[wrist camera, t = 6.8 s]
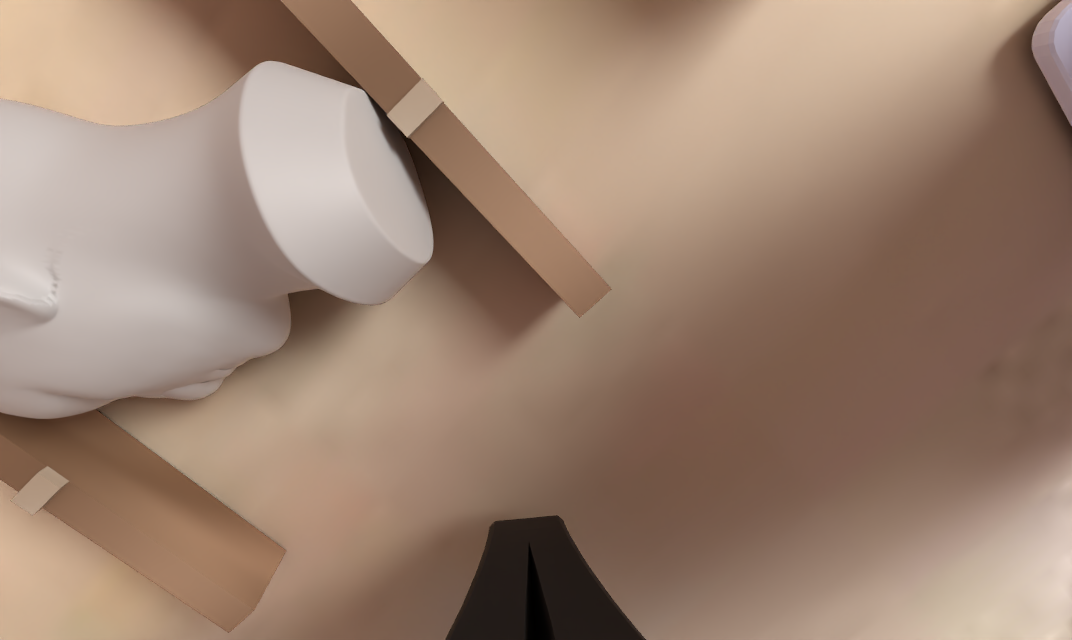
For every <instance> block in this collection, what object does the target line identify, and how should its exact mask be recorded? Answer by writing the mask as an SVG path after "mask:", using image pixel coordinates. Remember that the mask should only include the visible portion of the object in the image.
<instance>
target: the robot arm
mask: <svg viewBox="0 0 1072 640" xmlns="http://www.w3.org/2000/svg"><path fill="white" fill-rule="evenodd" d="M1031 48H1032V51H1033V55H1034V58H1035V60H1036V62H1037V64H1038V66H1039V67H1040V69H1041V71H1042V73H1043V75H1044V77H1045V79H1046V80H1047V82H1048V84H1049V86H1050V88H1051V90H1052V91H1053V93H1054V95H1055V97H1056V99H1057V101H1058V102H1059V104H1060V106H1061V108H1062V110H1063V112H1064V113H1065V115H1066V117H1067V119H1068V121H1069V123H1070V124H1071V126H1072V0H1062V1H1061V2H1059V3H1058V4H1057V5H1056V6H1055V7H1054V8H1052V9H1051V10H1050V11H1049V12H1048V13H1047V14H1046V15H1045V16H1044V17H1043V18H1042V19H1041V21H1040V22H1039V23H1038V24H1037V27H1036V29H1035V31H1034V34H1033V36H1032V47H1031ZM445 640H646V639H645V638H644V637H643V636H642V634H641V633H640V632H639V631H638V630H637V629H636V628H635V626H634V625H633V624H632V623H631V621H630V620H629V619H628V618H627V617H626V615H625V614H624V613H623V612H622V611H621V609H620V608H619V607H618V605H617V604H616V603H615V602H614V600H613V599H612V598H611V596H610V595H609V594H608V592H607V591H606V590H605V588H604V587H603V585H602V584H601V583H600V581H599V580H598V578H597V577H596V576H595V574H594V573H593V571H592V570H591V568H590V567H589V565H588V564H587V562H586V561H585V559H584V558H583V556H582V555H581V553H580V551H579V550H578V548H577V546H576V545H575V543H574V541H573V540H572V538H571V536H570V534H569V532H568V530H567V528H566V526H565V524H564V521H563V520H562V519H561V518H560V517H559V516H557V515H556V516H546V517H536V518H525V519H515V520H505V521H495V522H494V523H493V524H492V525H491V526H490V528H489V534H488V538H487V542H486V546H485V549H484V552H483V555H482V558H481V561H480V564H479V567H478V569H477V572H476V575H475V577H474V579H473V582H472V584H471V586H470V589H469V591H468V594H467V596H466V598H465V601H464V603H463V605H462V607H461V609H460V611H459V613H458V615H457V617H456V619H455V621H454V623H453V625H452V627H451V629H450V631H449V633H448V635H447V637H446V639H445Z"/></svg>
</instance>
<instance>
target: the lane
mask: <svg viewBox="0 0 1072 640" xmlns="http://www.w3.org/2000/svg"><path fill="white" fill-rule="evenodd" d="M281 2H282V3H283V4H284V5H285V6H286V7H287V8H288V9H289V10H290V11H291V12H292V13H293V14H294V15H295V16H296V17H297V19H298V20H299V21H300V22H301V23H302V24H303V25H304V26H305V27H306V28H307V29H308V30H309V31H310V32H311V33H312V34H313V36H314V37H315V38H316V39H317V40H318V41H319V42H320V43H321V44H322V45H323V46H324V47H325V48H326V49H327V50H328V51H329V52H330V54H331V55H332V56H333V57H334V58H335V59H336V60H337V61H338V62H339V63H340V64H341V65H342V66H343V67H344V68H345V69H346V71H347V72H348V73H349V74H350V75H351V76H352V77H353V78H354V79H355V80H356V81H357V82H358V83H359V84H360V85H361V86H362V87H363V89H364V90H365V91H366V92H367V93H368V94H369V95H370V96H371V97H372V98H373V99H374V100H375V101H376V102H377V103H378V104H379V106H380V107H381V108H382V109H383V110H384V111H385V112H386V113H387V116H388V118H389V119H390V120H391V121H392V122H393V123H394V124H395V125H396V126H397V127H398V128H399V129H400V130H401V131H402V132H403V133H404V134H405V136H406V137H408V138H411V139H412V141H413V142H414V143H415V144H416V145H417V146H418V147H419V148H420V149H421V150H422V151H423V152H424V153H425V154H426V155H427V156H428V158H429V159H430V160H431V161H432V162H433V163H434V164H435V165H436V166H437V167H438V168H439V169H440V170H441V171H442V172H443V173H444V175H445V176H446V177H447V178H448V179H449V180H450V181H451V182H452V183H453V184H454V185H455V186H456V187H457V188H458V189H459V190H460V191H461V193H462V194H463V195H464V196H465V197H466V198H467V199H468V200H469V201H470V202H471V203H472V204H473V205H474V206H475V207H476V208H477V210H478V211H479V212H480V213H481V214H482V215H483V216H484V217H485V218H486V219H487V220H488V221H489V222H490V223H491V224H492V225H493V226H494V228H495V229H496V230H497V231H498V232H499V233H500V234H501V235H502V236H503V237H504V238H505V239H506V240H507V241H508V242H509V243H510V245H511V246H512V247H513V248H514V249H515V250H516V251H517V252H518V253H519V254H520V255H521V256H522V257H523V258H524V259H525V260H526V262H527V263H528V264H529V265H530V266H531V267H532V268H533V269H534V270H535V271H536V272H537V273H538V274H539V275H540V276H541V277H542V278H543V280H544V281H545V282H546V283H547V284H548V285H549V286H550V287H551V288H552V289H553V290H554V291H555V292H556V293H557V294H558V295H559V297H560V298H561V299H562V300H563V301H564V302H565V303H566V304H567V305H568V306H569V307H570V308H571V309H572V310H573V311H574V312H575V314H576V315H577V316H578V317H579V318H580V317H581V316H582V315H583V314H584V313H586V312H587V311H588V310H589V309H590V308H591V307H592V306H593V305H594V304H596V303H597V302H598V301H599V300H600V299H601V298H602V297H603V296H605V295H606V294H607V293H608V292H609V291H610V290H611V288H610V287H609V286H608V284H607V283H606V282H605V281H604V280H603V279H602V278H601V277H600V276H599V275H598V273H597V272H596V271H595V270H594V269H593V268H592V267H591V266H590V265H589V263H588V262H587V261H586V260H585V259H584V258H583V257H582V256H581V255H580V253H579V252H578V251H577V250H576V249H575V248H574V247H573V246H572V245H571V244H570V242H569V241H568V240H567V239H566V238H565V237H564V236H563V235H562V234H561V232H560V231H559V230H558V229H557V228H556V227H555V226H554V225H553V224H552V222H551V221H550V220H549V219H548V218H547V217H546V216H545V215H544V214H543V213H542V211H541V210H540V209H539V208H538V207H537V206H536V205H535V204H534V203H533V201H532V200H531V199H530V198H529V197H528V196H527V195H526V194H525V193H524V192H523V190H522V189H521V188H520V187H519V186H518V185H517V184H516V183H515V182H514V180H513V179H512V178H511V177H510V176H509V175H508V174H507V173H506V172H505V170H504V169H503V168H502V167H501V166H500V165H499V164H498V163H497V162H496V161H495V159H494V158H493V157H492V156H491V155H490V154H489V153H488V152H487V151H486V149H485V148H484V147H483V146H482V145H481V144H480V143H479V142H478V141H477V139H476V138H475V137H474V136H473V135H472V134H471V133H470V132H469V131H468V130H467V128H466V127H465V126H464V125H463V124H462V123H461V122H460V121H459V120H458V118H457V117H456V116H455V115H454V114H453V113H452V112H451V111H450V110H449V109H448V107H447V106H446V105H445V104H444V102H443V100H442V99H441V98H440V97H439V96H438V95H437V94H436V93H435V92H434V91H433V89H432V88H431V87H430V86H429V85H428V84H427V83H426V82H425V81H424V79H423V78H422V79H421V78H420V76H419V75H418V74H417V73H416V72H415V71H414V70H413V69H412V68H411V66H410V65H409V64H408V63H407V62H406V61H405V60H404V59H403V58H402V56H401V55H400V54H399V53H398V52H397V51H396V50H395V49H394V48H393V47H392V45H391V44H390V43H389V42H388V41H387V40H386V39H385V38H384V37H383V35H382V34H381V33H380V32H379V31H378V30H377V29H376V28H375V27H374V26H373V24H372V23H371V22H370V21H369V20H368V19H367V18H366V17H365V16H364V14H363V13H362V12H361V11H360V10H359V9H358V8H357V7H356V6H355V4H354V3H353V2H352V1H351V0H281ZM0 480H2V481H3V482H5V483H6V484H8V485H9V486H11V487H12V488H14V489H15V490H17V491H18V493H17V494H16V495H15V496H14V497H13V498H12V500H11V502H13V503H14V504H16V505H17V506H19V507H20V508H22V509H23V510H25V511H26V512H28V513H29V514H31V515H32V516H33V515H34V514H36V513H37V512H38V511H40V510H41V509H42V508H44V509H45V510H47V511H48V512H50V513H51V514H53V515H54V516H55V517H57V518H58V519H60V520H61V521H63V522H64V523H66V524H67V525H69V526H70V527H72V528H73V529H75V530H76V531H78V532H79V533H81V534H82V535H84V536H85V537H87V538H88V539H90V540H91V541H93V542H94V543H96V544H97V545H99V546H100V547H102V548H103V549H105V550H106V551H108V552H109V553H111V554H112V555H114V556H115V557H117V558H118V559H120V560H121V561H123V562H124V563H126V564H127V565H129V566H130V567H131V568H133V569H134V570H136V571H137V572H139V573H140V574H142V575H143V576H145V577H146V578H148V579H149V580H151V581H152V582H154V583H155V584H157V585H158V586H160V587H161V588H163V589H164V590H166V591H167V592H169V593H170V594H172V595H173V596H175V597H176V598H178V599H179V600H181V601H182V602H184V603H185V604H187V605H188V606H190V607H191V608H193V609H194V610H196V611H197V612H199V613H200V614H202V615H203V616H205V617H206V618H207V619H209V620H210V621H212V622H213V623H215V624H216V625H218V626H219V627H221V628H222V629H224V630H225V631H227V632H228V633H229V632H231V631H232V630H233V629H234V628H235V627H236V626H237V625H238V624H239V623H241V622H242V621H243V620H244V619H245V618H246V617H247V616H248V615H249V614H251V613H252V612H253V611H254V610H255V608H256V606H257V604H258V602H259V600H260V599H261V597H262V595H263V593H264V591H265V589H266V587H267V586H268V584H269V582H270V580H271V578H272V576H273V574H274V573H275V571H276V569H277V567H278V565H279V563H280V561H281V560H282V558H283V556H284V554H285V552H286V550H285V549H283V548H282V547H281V546H279V545H278V544H276V543H275V542H274V541H272V540H271V539H270V538H268V537H267V536H266V535H264V534H263V533H262V532H260V531H259V530H258V529H256V528H255V527H254V526H252V525H251V524H250V523H248V522H247V521H245V520H244V519H243V518H241V517H240V516H239V515H237V514H236V513H235V512H233V511H232V510H231V509H229V508H228V507H227V506H225V505H224V504H223V503H221V502H220V501H219V500H217V499H216V498H214V497H213V496H212V495H210V494H209V493H208V492H206V491H205V490H204V489H202V488H201V487H200V486H198V485H197V484H196V483H194V482H193V481H192V480H190V479H189V478H188V477H186V476H185V475H183V474H182V473H181V472H179V471H178V470H177V469H175V468H174V467H173V466H171V465H170V464H169V463H167V462H166V461H165V460H163V459H162V458H161V457H159V456H158V455H157V454H155V453H154V452H152V451H151V450H150V449H148V448H147V447H146V446H144V445H143V444H142V443H140V442H139V441H138V440H136V439H135V438H134V437H132V436H131V435H130V434H128V433H127V432H125V431H124V430H123V429H121V428H120V427H119V426H117V425H116V424H115V423H113V422H112V421H111V420H109V419H108V418H107V417H105V416H104V415H103V414H101V413H100V412H99V411H97V410H96V409H94V410H91V411H88V412H85V413H82V414H77V415H73V416H68V417H62V418H53V419H36V418H27V417H21V416H15V415H10V414H5V413H1V412H0Z"/></svg>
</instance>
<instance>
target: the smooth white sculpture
mask: <svg viewBox="0 0 1072 640" xmlns="http://www.w3.org/2000/svg"><path fill="white" fill-rule="evenodd" d="M432 253H433V231H432V225H431V220H430V215H429V211H428V207H427V204H426V200H425V197H424V193H423V190H422V187H421V184H420V180H419V177H418V175H417V172H416V169H415V166H414V163H413V161H412V158H411V155H410V153H409V150H408V148H407V146H406V143H405V141H404V139H403V137H402V135H401V133H400V131H399V129H398V127H397V126H396V125H395V124H394V123H393V122H392V121H391V120H390V119H389V118H388V116H387V113H386V112H385V111H384V110H383V109H382V108H381V107H380V106H379V104H378V103H377V102H376V101H375V100H374V99H373V98H372V97H371V96H370V95H369V94H368V93H367V92H366V91H364V90H362V89H359V88H356V87H354V86H351V85H348V84H345V83H342V82H339V81H336V80H333V79H330V78H327V77H324V76H321V75H318V74H315V73H312V72H309V71H306V70H303V69H301V68H298V67H295V66H292V65H289V64H286V63H282V62H277V61H265V62H262V63H260V64H258V65H256V66H255V67H254V68H252V69H251V70H250V71H249V72H248V73H246V74H245V75H244V76H243V77H242V78H240V79H239V80H238V81H237V82H236V83H234V84H233V85H232V86H231V87H230V88H228V89H227V90H226V91H225V92H223V93H222V94H221V95H219V96H218V97H217V98H215V99H214V100H212V101H210V102H209V103H207V104H205V105H203V106H201V107H199V108H197V109H195V110H193V111H190V112H188V113H185V114H182V115H179V116H176V117H173V118H169V119H166V120H161V121H157V122H152V123H146V124H139V125H128V126H111V125H102V124H97V123H93V122H89V121H85V120H82V119H79V118H75V117H72V116H69V115H66V114H63V113H59V112H56V111H52V110H49V109H45V108H42V107H38V106H34V105H30V104H26V103H21V102H17V101H12V100H7V99H2V98H0V412H1V413H5V414H10V415H15V416H21V417H27V418H36V419H53V418H62V417H68V416H73V415H77V414H82V413H85V412H88V411H91V410H94V409H97V408H99V407H102V406H104V405H106V404H108V403H111V402H113V401H115V400H117V399H122V398H127V397H132V396H137V397H144V398H172V399H178V400H197V399H201V398H204V397H207V396H209V395H211V394H212V393H214V392H215V391H216V390H217V389H218V388H219V387H220V386H221V384H222V382H223V380H224V378H225V377H227V376H229V375H230V374H231V373H232V372H233V371H234V370H235V369H236V368H237V366H240V365H242V364H244V363H246V362H247V361H248V360H250V359H252V358H257V357H262V356H266V355H269V354H271V353H273V352H275V351H277V350H278V349H280V348H281V347H282V346H283V345H284V343H285V342H286V340H287V339H288V336H289V334H290V329H291V312H290V305H289V298H288V293H293V292H298V291H305V290H312V289H321V290H323V291H325V292H327V293H329V294H331V295H333V296H335V297H338V298H340V299H343V300H346V301H349V302H352V303H356V304H362V305H379V304H382V303H385V302H387V301H388V300H390V299H391V298H392V297H393V296H394V295H395V294H396V293H397V292H398V291H399V290H400V289H401V288H402V287H403V286H404V285H405V284H406V283H407V282H408V281H409V280H410V279H411V278H412V277H413V276H414V275H415V274H416V273H417V272H418V271H419V270H420V269H421V268H422V267H423V266H424V265H425V264H426V263H427V262H428V261H429V260H430V259H431V256H432Z"/></svg>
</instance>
